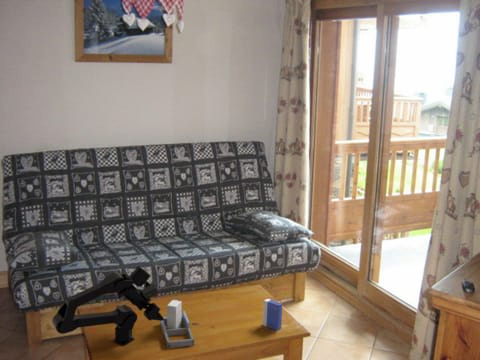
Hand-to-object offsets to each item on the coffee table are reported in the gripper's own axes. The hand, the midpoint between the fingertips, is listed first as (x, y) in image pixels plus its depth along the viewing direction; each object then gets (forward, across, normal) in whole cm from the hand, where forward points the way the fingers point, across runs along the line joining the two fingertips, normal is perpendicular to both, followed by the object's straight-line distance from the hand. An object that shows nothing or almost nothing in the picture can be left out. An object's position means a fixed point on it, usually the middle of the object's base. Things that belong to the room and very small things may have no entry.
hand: (158, 315), depth 242 cm
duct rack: (+10, -5, +1) cm, 11 cm away
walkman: (+38, -16, -27) cm, 49 cm away
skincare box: (+11, 0, +1) cm, 11 cm away
